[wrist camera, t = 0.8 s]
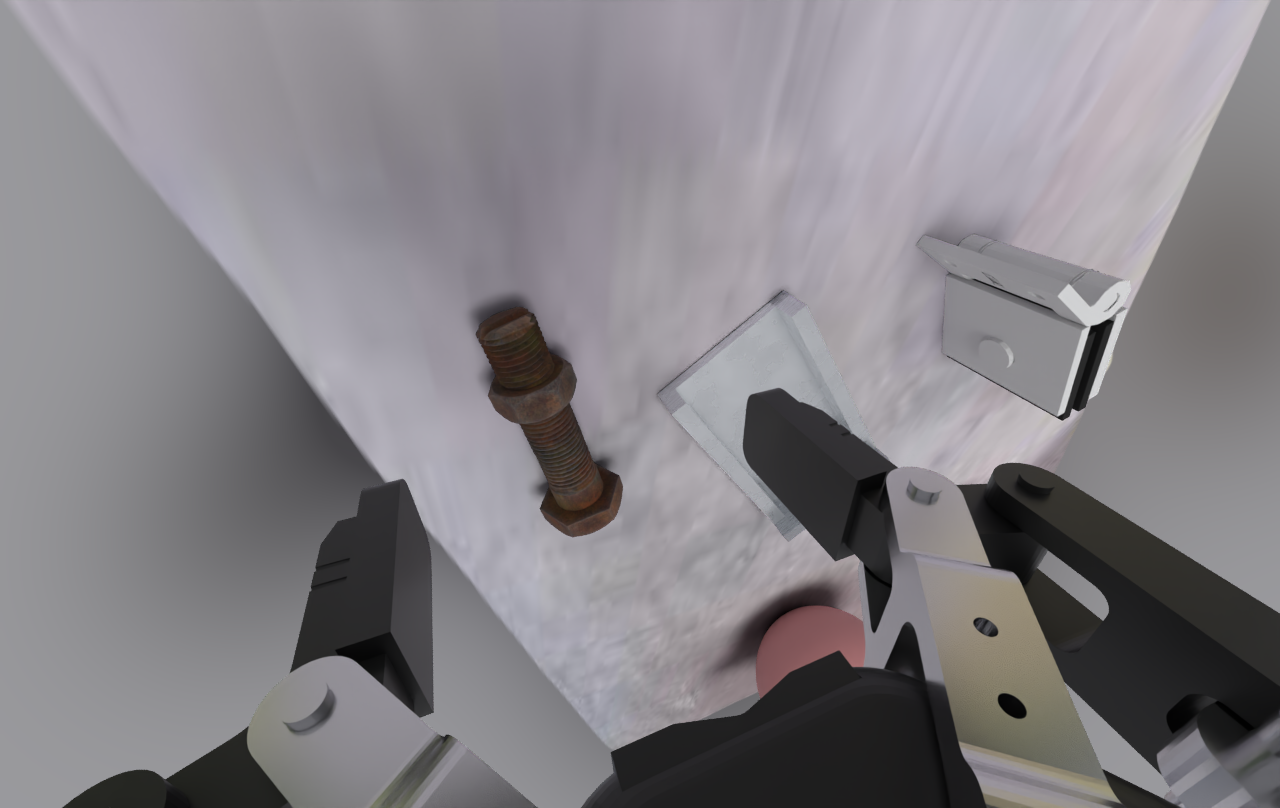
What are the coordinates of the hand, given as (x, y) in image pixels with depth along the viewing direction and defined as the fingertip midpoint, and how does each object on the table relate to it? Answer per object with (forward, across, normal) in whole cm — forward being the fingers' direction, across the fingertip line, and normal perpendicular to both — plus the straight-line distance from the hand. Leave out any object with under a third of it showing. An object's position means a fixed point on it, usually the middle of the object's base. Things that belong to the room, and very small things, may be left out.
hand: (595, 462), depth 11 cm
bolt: (+19, -1, +10) cm, 21 cm away
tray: (+18, -18, +15) cm, 30 cm away
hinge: (+17, -34, +7) cm, 38 cm away
